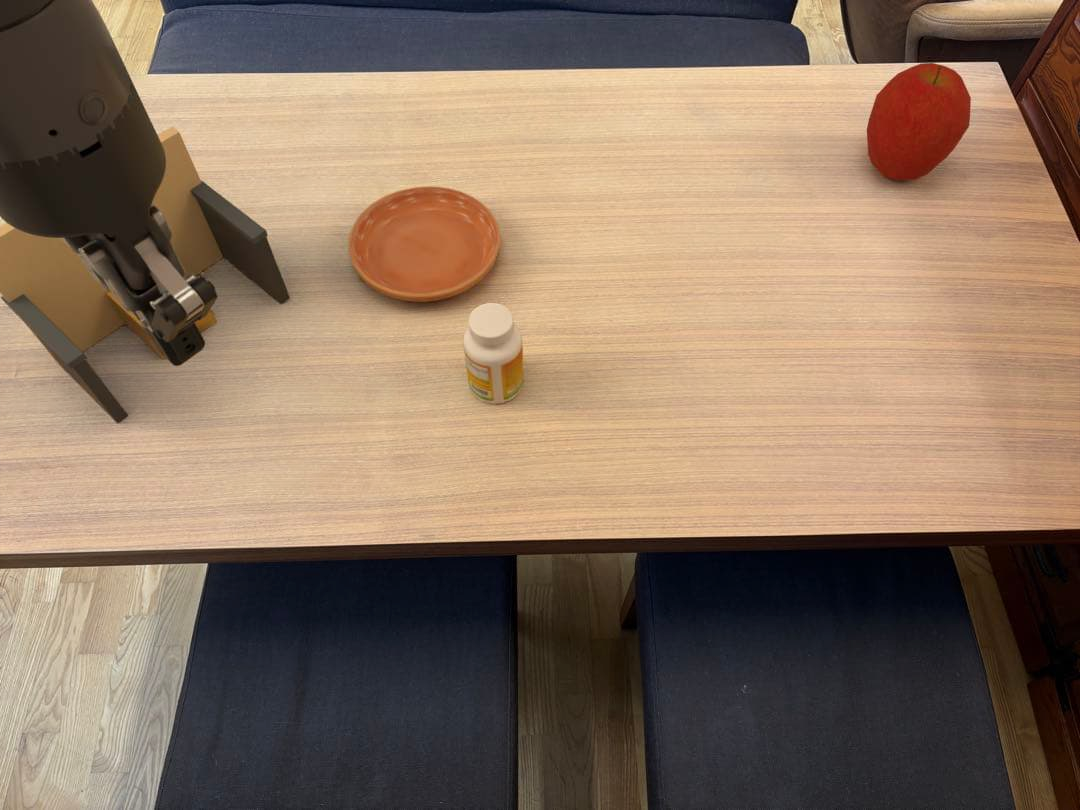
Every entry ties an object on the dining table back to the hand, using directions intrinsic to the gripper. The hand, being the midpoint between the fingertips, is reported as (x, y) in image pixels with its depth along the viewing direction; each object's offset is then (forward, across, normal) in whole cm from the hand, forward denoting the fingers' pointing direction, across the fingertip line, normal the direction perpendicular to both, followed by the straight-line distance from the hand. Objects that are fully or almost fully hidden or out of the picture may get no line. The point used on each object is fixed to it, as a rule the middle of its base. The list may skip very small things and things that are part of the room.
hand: (184, 350), depth 49 cm
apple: (+29, +14, +77) cm, 84 cm away
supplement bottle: (+29, 0, +24) cm, 38 cm away
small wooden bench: (+29, -29, +7) cm, 42 cm away
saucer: (+29, -17, +31) cm, 46 cm away
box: (+29, -30, +7) cm, 42 cm away
